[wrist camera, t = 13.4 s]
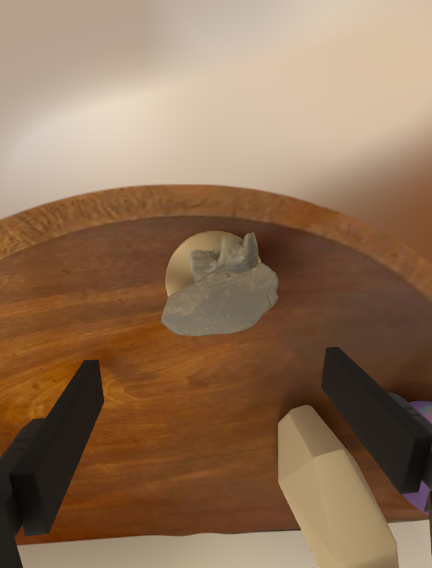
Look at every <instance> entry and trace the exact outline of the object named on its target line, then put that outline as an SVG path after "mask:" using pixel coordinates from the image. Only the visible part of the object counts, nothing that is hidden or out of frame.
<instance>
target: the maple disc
mask: <svg viewBox="0 0 432 568" xmlns="http://www.w3.org/2000/svg"><path fill="white" fill-rule="evenodd" d="M225 236H228V237H229V238H233V237H234V238H236V240H237V241H238V242H241V241H243V239H242V238H240V237H238V236H236V235H234V234H232V233H229V232H225V231H216V230H213V231H205V232H201V233H198V234H195V235H193V236H191V237H189V238H188V239H187V240H185V241H184V242H183V243H182V244H180V245H179V247H178V248H177V249H176V250H175V252H174V253H173V255H172V256H171V259H170V261H169V263H168V267H167V270H166V277H165V284H166V290H167V294H168V297H169V296H170V295H171V294H173V293H175V292H178V291H180V290H182V289H183V288H185V287H187V286H189V285H191V284H193V283H194V280H193V278H192V275H191V271H190V259H189V254H190V251H193V250H203V251H212V250H213V249H215V248H217V247H218V246H219V245H220V244H221V237H225ZM260 262H261V260H260V258H259V257H258V263H260Z"/></svg>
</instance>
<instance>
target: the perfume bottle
mask: <svg viewBox="0 0 432 568" xmlns="http://www.w3.org/2000/svg"><path fill="white" fill-rule="evenodd" d="M278 483H279V485H280V487H281V489H282V491H283V493H284V495H285V497H286V499H287V501H288V504H289V506H290V508H291V510H292V512H293V514H294V516H295V518H296V520H297V522H298V524H299V526H300V528H301V530H302V532H303V534H304V536H305V538H306V540H307V542H308V544H309V546H310V548H311V550H312V552H313V555H314V556H315V559H316V561H317V563H318V564H319V567H320V568H399V564H398V555H397V544H396V540H395V538H394V537H393V534H392V532H391V531H390V529H389V527H388V524H387V522H386V520H385V518H384V516H383V514H382V512H381V510H380V508H379V506H378V504H377V502H376V500H375V498H374V496H373V494H372V492H371V490H370V488H369V486H368V484H367V482H366V480H365V478H364V476H363V474H362V472H361V470H360V468H359V466H358V464H357V462H356V460H355V459H354V458H353V457H352V455H351V454H350V453H349V452H348V451H347V449H346V448H345V447H344V446H343V444H342V443H341V442H340V441H339V439H338V438H337V437H336V436H335V435H334V433H333V432H332V431H331V430H330V428H329V427H328V426H327V425H326V423H325V422H324V421H323V420H322V419H321V417H320V416H319V415H318V414H317V412H316V411H315V410H314V409H313V407H312V406H309V405H304V406H300V407H297V408H294V409H291V410H290V411H289V412H288V413H287V414H286V415H285V416H284V417H283V418H282V419H281V420H280V422H279V423H278Z"/></svg>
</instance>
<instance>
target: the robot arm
mask: <svg viewBox="0 0 432 568" xmlns="http://www.w3.org/2000/svg"><path fill="white" fill-rule="evenodd" d="M321 388H322V389H323V390H324V392H325V393H326V395H327V396H328V397H329V399H330V400H331V401H332V403H333V404H334V405H335V407H336V408H337V409H338V411H339V412H340V413H341V415H342V416H343V417H344V419H345V420H346V421H347V423H348V424H349V425H350V427H351V428H352V430H353V431H354V432H355V434H356V435H357V436H358V438H359V439H360V440H361V442H362V443H363V444H364V446H365V447H366V448H367V450H368V451H369V452H370V454H371V455H372V456H373V458H374V459H375V460H376V462H377V463H378V465H379V466H380V467H381V469H382V470H383V471H384V473H385V474H386V475H387V477H388V478H389V479H390V481H391V482H392V483H393V485H394V486H395V487H396V489H397V490H398V491H399V493H400V494H408V493H417V492H419V489H420V485H421V481H423V482H424V483H425V484H426V486H427V487H428V488H429V489H430V491H429V494H428V498H427V501H426V505H425V508H424V511H425V512H428V509H429V521H430V537H431V551H432V423H431V422H430V421H428V420H427V419H426V418H425V417H424V416H422V415H421V413H419V412H418V411H417V410H416V409H414V407H413V406H411V405H410V404H409V403H408V402H407V401H406V400H405V399H403V398H401V397H400V396H398V395H396V394H394V393H387V392H386V391H385V390H384V389H383V388H382V387H381V386H379V385H378V384H377V383H376V382H375V381H374V380H373V379H372V378H371V377H370V376H369V375H368V374H367V373H366V372H364V371H363V370H362V369H361V368H360V367H359V366H358V365H357V364H356V363H355V362H354V361H353V360H352V359H350V358H349V357H348V356H347V355H346V354H345V353H344V352H343V351H342V350H341V349H340V348H339V347H330V348H326V352H325V360H324V368H323V376H322V384H321ZM103 403H104V397H103V389H102V381H101V374H100V366H99V360H84V361H83V363H82V364H81V366H80V367H79V369H78V370H77V372H76V373H75V375H74V376H73V378H72V379H71V381H70V382H69V384H68V385H67V387H66V388H65V390H64V392H63V393H62V395H61V396H60V398H59V399H58V401H57V402H56V404H55V405H54V407H53V408H52V410H51V411H50V413H49V414H48V416H47V417H46V418H41V419H33V420H32V421H31V422H29V423H28V424H27V425H26V426H25V427H23V428H22V429H21V431H20V432H19V433H18V435H17V436H16V437H15V439H14V441H13V442H12V443H11V444H10V445H9V447H8V448H7V451H5V452H4V454H3V455H2V456H1V458H0V568H23V566H22V563H21V560H20V556H19V552H18V549H17V545H16V542H15V537H16V535H17V533H18V531H19V529H20V527H21V525H22V526H23V530H24V534H25V536H32V535H41V534H49V532H50V530H51V527H52V525H53V522H54V520H55V518H56V515H57V513H58V511H59V508H60V506H61V503H62V501H63V499H64V496H65V494H66V492H67V489H68V487H69V484H70V482H71V480H72V477H73V475H74V472H75V470H76V468H77V465H78V463H79V461H80V458H81V456H82V453H83V451H84V449H85V446H86V444H87V442H88V439H89V437H90V434H91V432H92V430H93V427H94V425H95V422H96V420H97V418H98V415H99V413H100V411H101V408H102V406H103ZM431 553H432V552H431Z"/></svg>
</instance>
